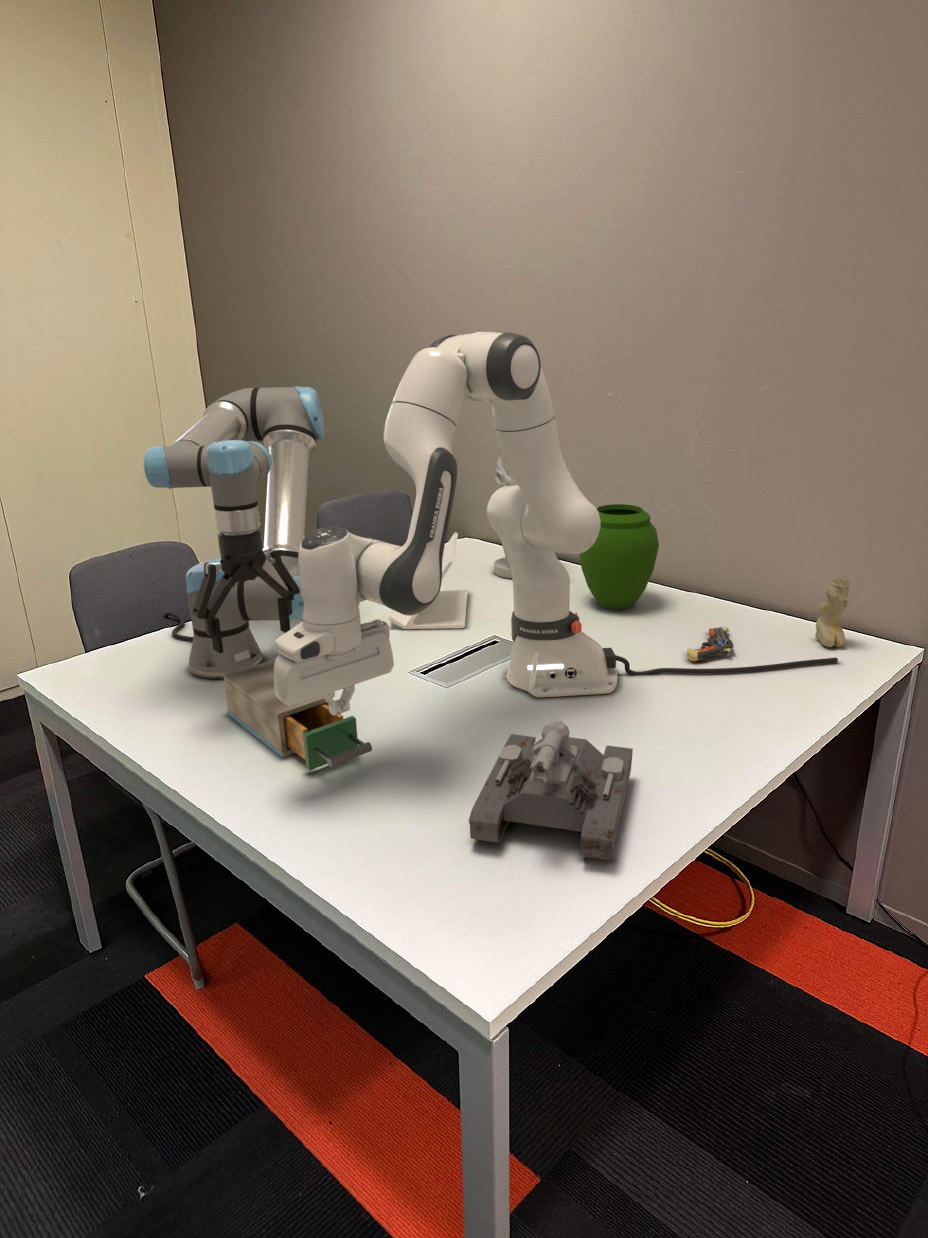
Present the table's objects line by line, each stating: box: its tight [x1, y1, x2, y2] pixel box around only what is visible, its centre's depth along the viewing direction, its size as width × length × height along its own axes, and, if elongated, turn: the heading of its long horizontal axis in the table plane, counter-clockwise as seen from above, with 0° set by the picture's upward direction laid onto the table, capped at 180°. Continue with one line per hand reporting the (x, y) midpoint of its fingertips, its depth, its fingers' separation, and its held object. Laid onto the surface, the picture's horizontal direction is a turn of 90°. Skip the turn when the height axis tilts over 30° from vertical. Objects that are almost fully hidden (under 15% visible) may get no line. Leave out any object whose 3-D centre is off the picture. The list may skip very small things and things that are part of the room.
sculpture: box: [814, 576, 852, 648], centre depth 185 cm, size 6×7×15 cm
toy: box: [468, 719, 634, 861], centre depth 127 cm, size 25×20×15 cm
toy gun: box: [686, 626, 735, 662], centre depth 187 cm, size 3×19×10 cm
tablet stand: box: [388, 531, 468, 630], centre depth 211 cm, size 18×25×17 cm
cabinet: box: [223, 659, 334, 759], centre depth 157 cm, size 22×11×8 cm, turn 39°
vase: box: [578, 503, 660, 610], centre depth 210 cm, size 20×20×24 cm
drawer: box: [283, 703, 373, 771], centre depth 148 cm, size 26×10×6 cm, turn 39°
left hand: (252, 641), depth 159 cm, fingers open, 13 cm apart
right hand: (339, 712), depth 138 cm, fingers closed
